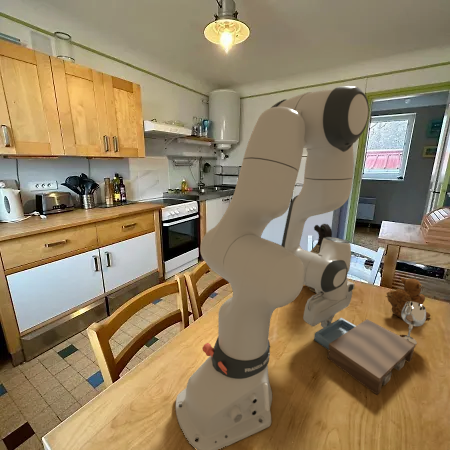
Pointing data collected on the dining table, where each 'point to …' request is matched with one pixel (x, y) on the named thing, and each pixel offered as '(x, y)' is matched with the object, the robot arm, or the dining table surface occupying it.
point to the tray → (332, 332)
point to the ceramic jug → (321, 239)
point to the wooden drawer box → (370, 354)
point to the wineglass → (413, 317)
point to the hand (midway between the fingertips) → (325, 325)
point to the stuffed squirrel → (406, 296)
